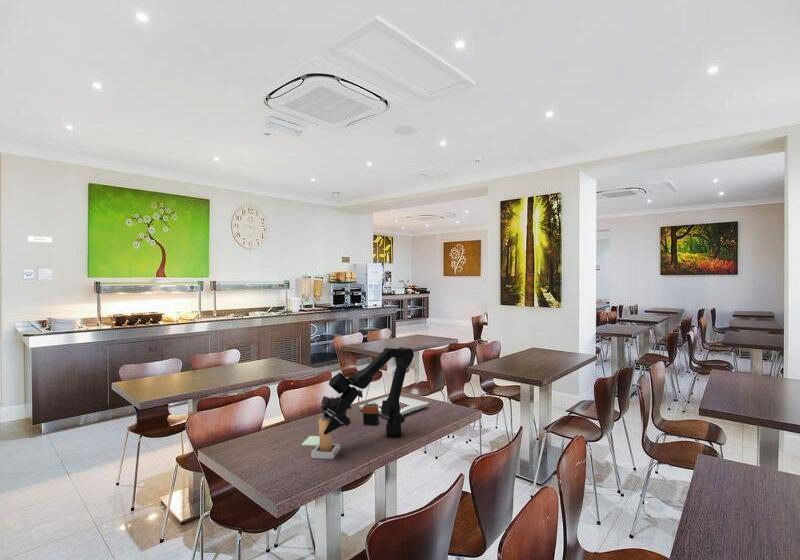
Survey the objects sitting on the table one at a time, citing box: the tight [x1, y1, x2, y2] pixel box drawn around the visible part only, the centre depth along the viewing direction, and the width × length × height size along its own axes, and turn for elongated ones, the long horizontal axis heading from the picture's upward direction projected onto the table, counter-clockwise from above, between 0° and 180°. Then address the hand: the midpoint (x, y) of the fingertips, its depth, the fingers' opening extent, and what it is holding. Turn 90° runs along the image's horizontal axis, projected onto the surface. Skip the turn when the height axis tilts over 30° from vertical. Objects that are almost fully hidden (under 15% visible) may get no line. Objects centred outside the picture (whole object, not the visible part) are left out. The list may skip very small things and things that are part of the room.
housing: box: [310, 443, 341, 460], centre depth 173 cm, size 9×9×2 cm
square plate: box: [358, 395, 429, 416], centre depth 229 cm, size 27×27×4 cm
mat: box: [301, 435, 320, 447], centre depth 187 cm, size 10×10×1 cm
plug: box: [318, 416, 333, 451], centre depth 173 cm, size 5×5×15 cm
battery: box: [362, 402, 380, 426], centre depth 208 cm, size 4×7×10 cm, turn 78°
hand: (322, 432), depth 172 cm, fingers closed on plug, 5 cm apart
